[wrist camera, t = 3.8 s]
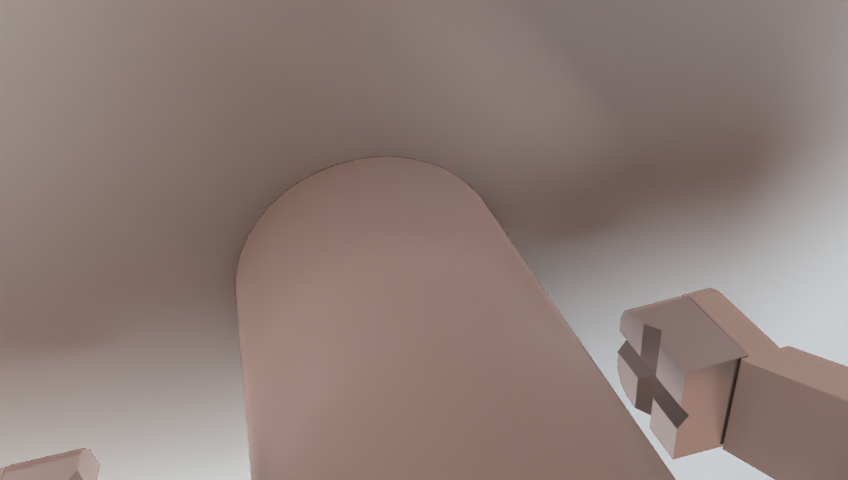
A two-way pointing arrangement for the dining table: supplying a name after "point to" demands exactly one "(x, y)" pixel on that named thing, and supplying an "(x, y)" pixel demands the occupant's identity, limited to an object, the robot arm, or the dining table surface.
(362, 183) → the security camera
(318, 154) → the dining table surface
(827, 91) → the dining table surface
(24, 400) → the dining table surface
